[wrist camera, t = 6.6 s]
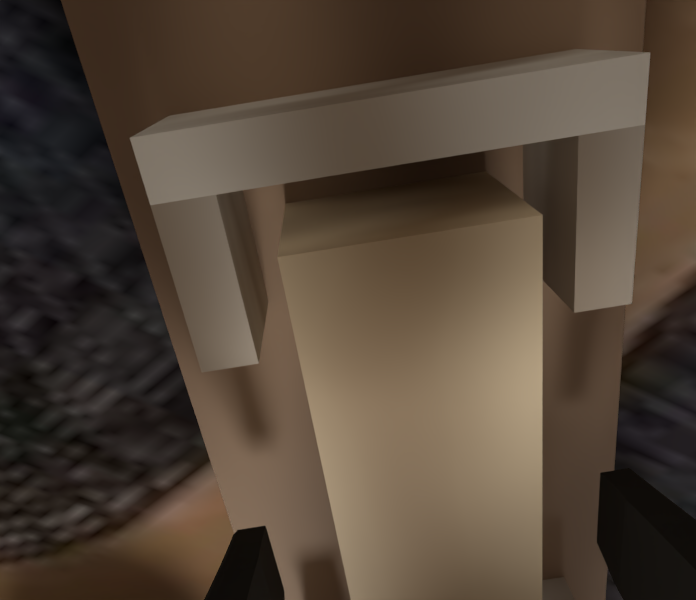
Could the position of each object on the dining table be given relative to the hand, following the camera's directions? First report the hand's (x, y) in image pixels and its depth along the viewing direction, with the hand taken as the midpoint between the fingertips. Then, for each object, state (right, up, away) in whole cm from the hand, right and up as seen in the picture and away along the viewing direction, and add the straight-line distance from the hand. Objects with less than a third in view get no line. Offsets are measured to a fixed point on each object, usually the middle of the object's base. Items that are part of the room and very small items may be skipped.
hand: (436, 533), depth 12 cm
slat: (0, +1, +2) cm, 2 cm away
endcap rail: (0, +2, +3) cm, 4 cm away
